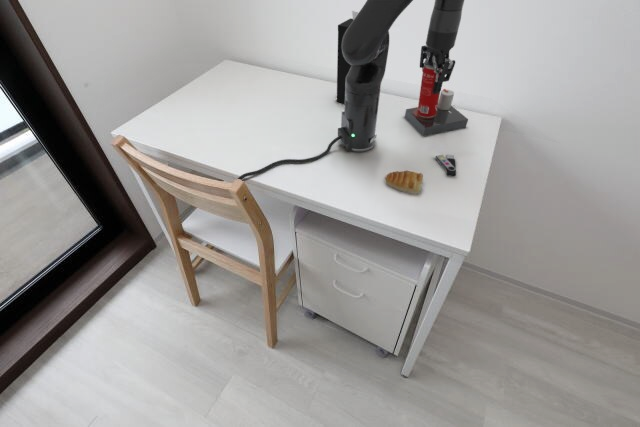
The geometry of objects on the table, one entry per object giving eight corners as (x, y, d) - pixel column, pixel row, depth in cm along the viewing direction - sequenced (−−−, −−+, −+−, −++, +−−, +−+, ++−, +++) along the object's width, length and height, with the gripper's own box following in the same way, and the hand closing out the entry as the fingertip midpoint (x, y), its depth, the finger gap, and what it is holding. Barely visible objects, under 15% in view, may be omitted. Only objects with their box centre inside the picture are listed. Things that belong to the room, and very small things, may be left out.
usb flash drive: (455, 176, 89) (456, 173, 88) (434, 174, 90) (435, 171, 89) (454, 157, 95) (455, 154, 94) (434, 155, 96) (435, 152, 95)
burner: (419, 120, 104) (420, 120, 104) (409, 110, 108) (409, 109, 108) (439, 117, 105) (439, 116, 105) (428, 107, 110) (428, 106, 110)
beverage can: (436, 119, 104) (448, 70, 93) (414, 117, 105) (424, 68, 94) (435, 110, 108) (447, 62, 97) (414, 108, 109) (424, 60, 98)
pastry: (382, 190, 86) (384, 178, 83) (386, 174, 90) (388, 162, 88) (420, 196, 84) (423, 184, 81) (422, 179, 89) (425, 168, 86)
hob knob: (452, 108, 108) (457, 93, 105) (442, 111, 108) (446, 95, 104) (445, 103, 111) (449, 87, 107) (434, 105, 110) (438, 90, 106)
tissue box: (355, 107, 116) (361, 16, 96) (336, 102, 119) (337, 12, 99) (366, 98, 121) (373, 9, 101) (347, 93, 124) (350, 6, 104)
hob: (423, 136, 103) (425, 127, 101) (402, 116, 112) (404, 107, 110) (468, 127, 106) (471, 118, 104) (445, 108, 115) (447, 99, 113)
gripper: (472, 33, 85) (454, 97, 97) (441, 17, 95) (428, 77, 106) (446, 37, 83) (431, 101, 95) (417, 20, 93) (407, 81, 105)
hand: (430, 88), depth 101 cm, fingers closed on beverage can, 5 cm apart
